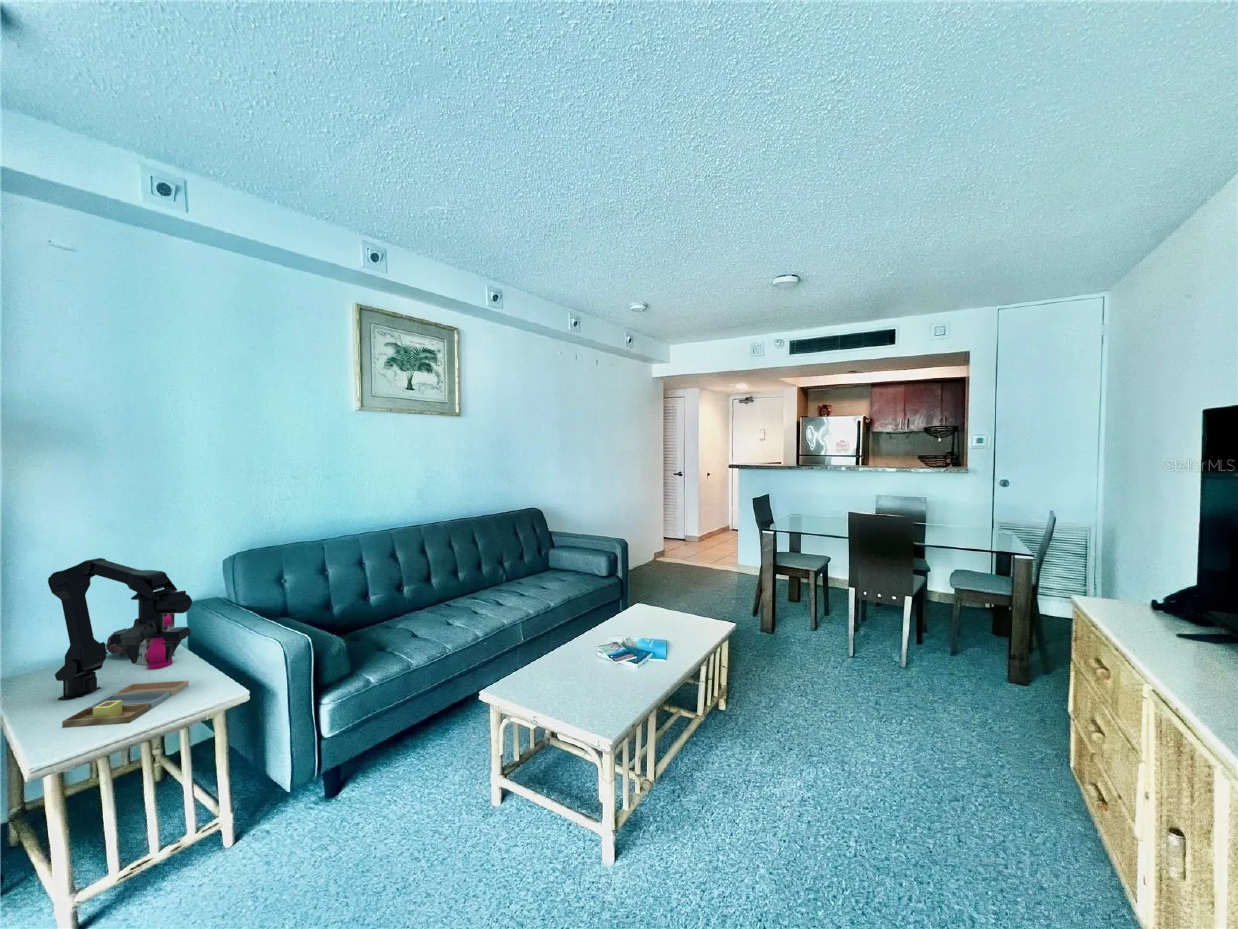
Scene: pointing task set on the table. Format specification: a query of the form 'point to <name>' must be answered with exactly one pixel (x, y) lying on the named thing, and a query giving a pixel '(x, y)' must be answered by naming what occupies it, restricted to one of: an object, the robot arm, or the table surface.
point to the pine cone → (112, 647)
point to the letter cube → (108, 709)
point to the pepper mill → (158, 650)
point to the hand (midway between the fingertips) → (151, 662)
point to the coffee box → (147, 643)
